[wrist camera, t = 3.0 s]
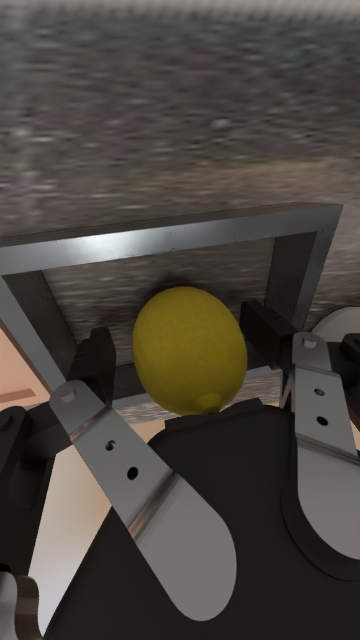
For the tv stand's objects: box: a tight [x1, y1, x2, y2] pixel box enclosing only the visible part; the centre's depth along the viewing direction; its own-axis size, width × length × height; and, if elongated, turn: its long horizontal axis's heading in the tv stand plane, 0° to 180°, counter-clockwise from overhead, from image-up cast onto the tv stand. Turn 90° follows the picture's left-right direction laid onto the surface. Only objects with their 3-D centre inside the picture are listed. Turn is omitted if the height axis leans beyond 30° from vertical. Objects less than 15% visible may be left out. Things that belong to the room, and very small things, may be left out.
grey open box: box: [0, 202, 344, 410], centre depth 12 cm, size 16×11×3 cm
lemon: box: [132, 286, 247, 416], centre depth 10 cm, size 6×6×8 cm
